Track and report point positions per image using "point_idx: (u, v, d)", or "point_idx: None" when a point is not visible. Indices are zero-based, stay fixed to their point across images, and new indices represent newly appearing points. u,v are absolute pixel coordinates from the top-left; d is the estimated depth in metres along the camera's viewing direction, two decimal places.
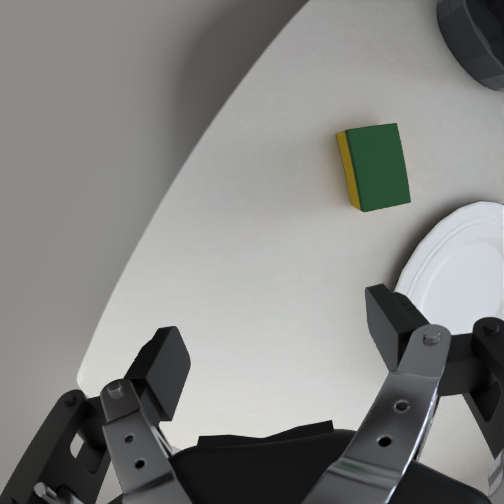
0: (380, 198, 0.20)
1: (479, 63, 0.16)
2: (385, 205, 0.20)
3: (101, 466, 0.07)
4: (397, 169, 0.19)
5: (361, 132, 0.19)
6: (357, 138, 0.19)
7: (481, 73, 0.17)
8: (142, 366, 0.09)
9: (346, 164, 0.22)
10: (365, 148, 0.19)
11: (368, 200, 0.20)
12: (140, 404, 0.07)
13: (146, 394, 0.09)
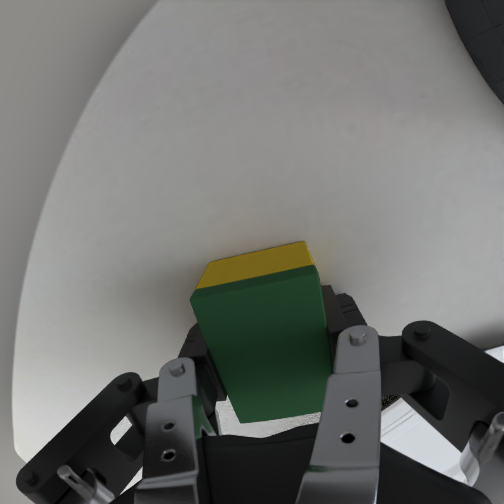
0: (271, 408, 0.10)
1: None
2: (282, 416, 0.10)
3: (142, 454, 0.07)
4: (310, 365, 0.10)
5: (222, 303, 0.09)
6: (214, 316, 0.09)
7: None
8: (199, 345, 0.10)
9: None
10: (234, 334, 0.09)
11: (247, 411, 0.10)
12: (196, 389, 0.08)
13: (206, 372, 0.09)
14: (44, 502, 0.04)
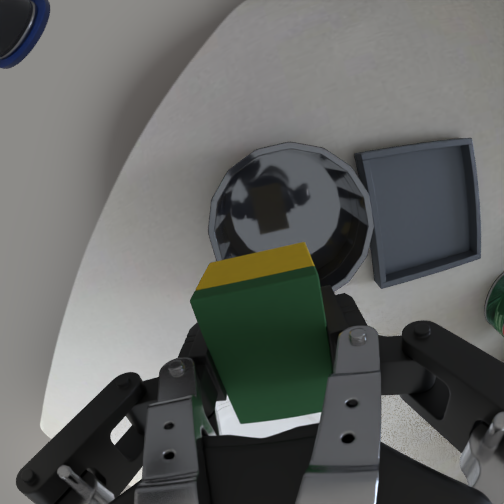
0: (271, 409, 0.10)
1: None
2: (282, 416, 0.10)
3: (142, 454, 0.07)
4: (310, 366, 0.10)
5: (223, 304, 0.09)
6: (214, 317, 0.09)
7: None
8: (199, 345, 0.10)
9: None
10: (234, 335, 0.09)
11: (247, 411, 0.10)
12: (196, 389, 0.08)
13: (205, 372, 0.09)
14: (44, 502, 0.04)
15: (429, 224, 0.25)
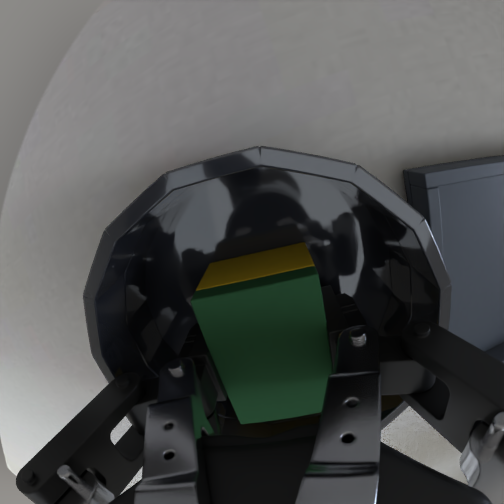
0: (272, 409, 0.10)
1: None
2: (283, 416, 0.10)
3: (142, 454, 0.07)
4: (311, 366, 0.10)
5: (223, 304, 0.09)
6: (214, 317, 0.09)
7: None
8: (199, 345, 0.10)
9: None
10: (234, 335, 0.09)
11: (247, 411, 0.10)
12: (195, 389, 0.08)
13: (205, 372, 0.09)
14: (44, 502, 0.04)
15: None
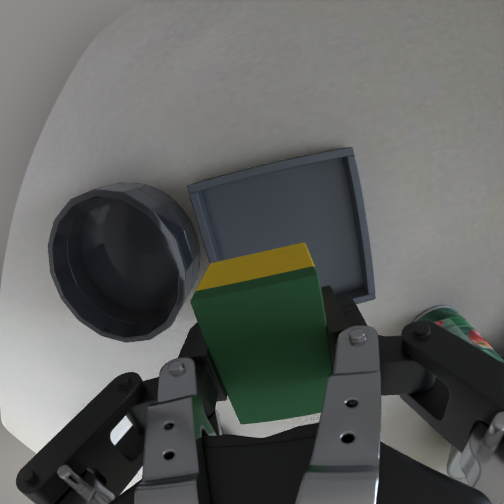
0: (272, 409, 0.10)
1: None
2: (283, 416, 0.10)
3: (143, 454, 0.07)
4: (311, 367, 0.10)
5: (223, 305, 0.09)
6: (214, 317, 0.09)
7: None
8: (199, 345, 0.10)
9: None
10: (234, 336, 0.09)
11: (247, 412, 0.10)
12: (196, 389, 0.08)
13: (206, 372, 0.09)
14: (44, 502, 0.04)
15: None
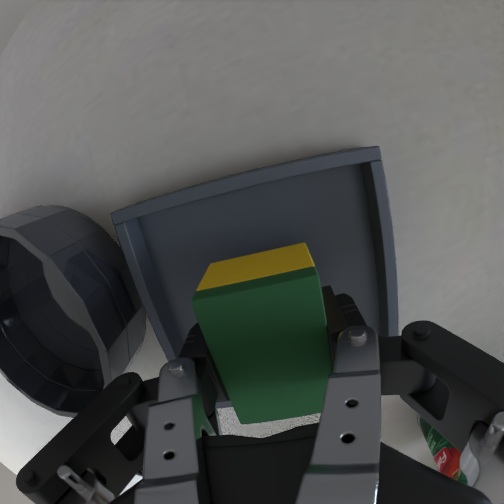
0: (272, 409, 0.10)
1: None
2: (283, 417, 0.10)
3: (143, 454, 0.07)
4: (311, 367, 0.10)
5: (223, 305, 0.09)
6: (215, 317, 0.09)
7: None
8: (199, 345, 0.10)
9: None
10: (234, 336, 0.09)
11: (247, 412, 0.10)
12: (196, 389, 0.08)
13: (206, 372, 0.09)
14: (44, 502, 0.04)
15: None
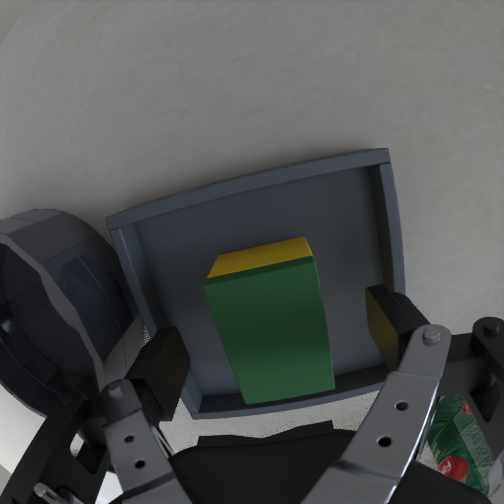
0: (275, 388, 0.12)
1: None
2: (285, 396, 0.12)
3: (101, 466, 0.07)
4: (310, 347, 0.11)
5: (232, 289, 0.10)
6: (224, 301, 0.10)
7: None
8: (142, 366, 0.09)
9: None
10: (241, 318, 0.11)
11: (252, 391, 0.12)
12: (140, 404, 0.07)
13: (146, 394, 0.09)
14: None
15: None
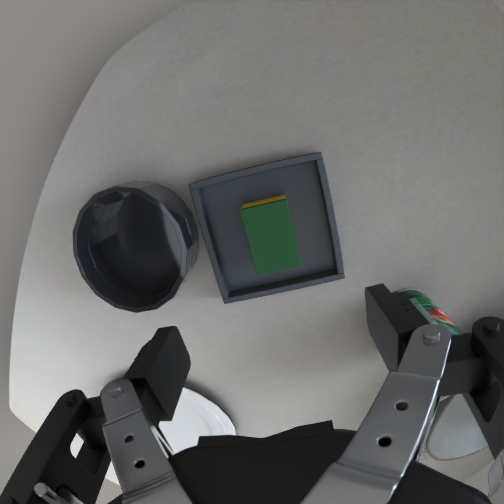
0: (271, 264, 0.26)
1: None
2: (276, 269, 0.26)
3: (101, 466, 0.07)
4: (286, 239, 0.25)
5: (252, 211, 0.25)
6: (248, 216, 0.25)
7: None
8: (142, 366, 0.09)
9: None
10: (256, 224, 0.25)
11: (260, 266, 0.26)
12: (140, 404, 0.07)
13: (146, 394, 0.09)
14: None
15: None
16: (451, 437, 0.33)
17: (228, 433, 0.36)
